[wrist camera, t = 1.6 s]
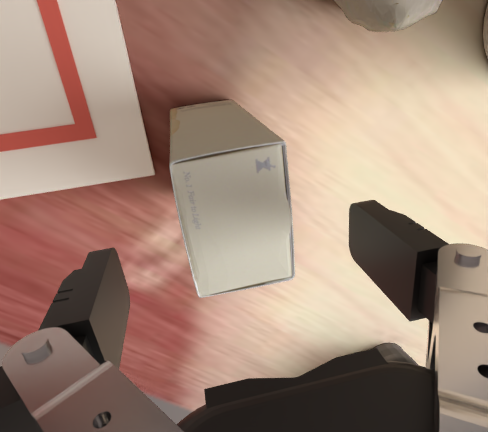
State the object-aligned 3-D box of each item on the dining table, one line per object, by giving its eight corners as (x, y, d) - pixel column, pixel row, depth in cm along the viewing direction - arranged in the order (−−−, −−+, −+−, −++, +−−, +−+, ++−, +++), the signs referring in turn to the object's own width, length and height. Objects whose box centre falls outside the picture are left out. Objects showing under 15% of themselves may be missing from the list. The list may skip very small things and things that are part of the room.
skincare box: (168, 107, 23) (160, 154, 12) (236, 97, 23) (288, 133, 12) (186, 197, 26) (193, 302, 15) (247, 187, 26) (297, 281, 15)
